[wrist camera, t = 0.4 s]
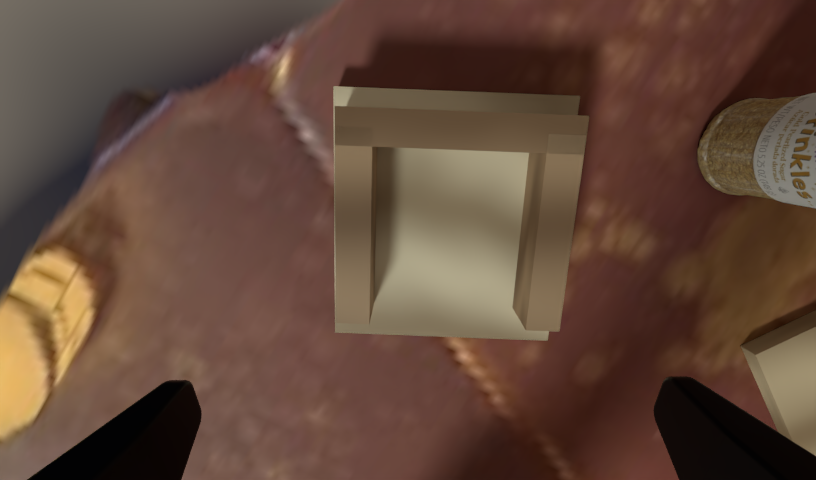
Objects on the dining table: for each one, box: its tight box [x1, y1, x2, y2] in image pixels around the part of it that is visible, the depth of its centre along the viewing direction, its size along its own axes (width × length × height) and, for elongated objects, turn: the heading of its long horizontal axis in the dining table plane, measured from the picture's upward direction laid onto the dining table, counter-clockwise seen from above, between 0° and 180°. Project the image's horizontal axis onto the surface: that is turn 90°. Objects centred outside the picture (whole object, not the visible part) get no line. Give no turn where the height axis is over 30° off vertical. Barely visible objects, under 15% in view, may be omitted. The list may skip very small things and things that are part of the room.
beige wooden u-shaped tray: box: [334, 86, 589, 341], centre depth 19 cm, size 12×11×4 cm
